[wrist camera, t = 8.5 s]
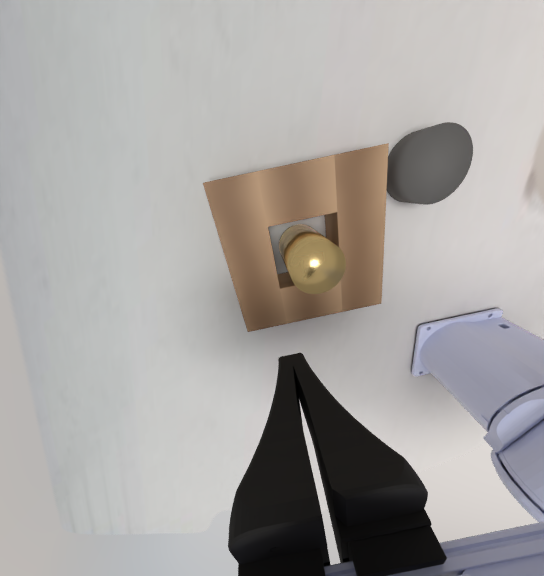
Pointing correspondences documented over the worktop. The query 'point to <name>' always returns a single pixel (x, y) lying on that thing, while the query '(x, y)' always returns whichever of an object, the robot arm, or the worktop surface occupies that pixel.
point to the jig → (296, 206)
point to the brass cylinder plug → (311, 259)
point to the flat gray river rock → (429, 164)
